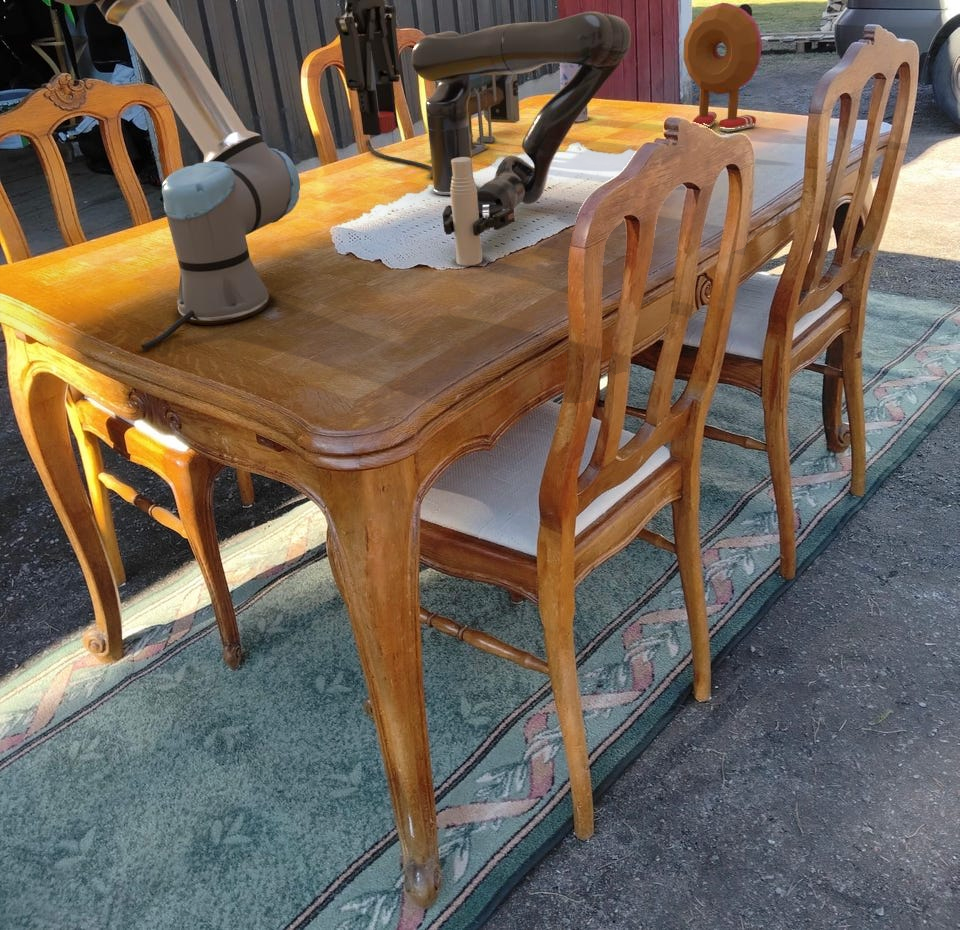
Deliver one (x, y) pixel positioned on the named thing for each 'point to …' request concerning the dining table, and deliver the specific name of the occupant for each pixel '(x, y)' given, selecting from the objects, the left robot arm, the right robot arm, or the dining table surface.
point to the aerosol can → (565, 75)
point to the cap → (386, 121)
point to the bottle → (465, 212)
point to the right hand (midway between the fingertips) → (461, 229)
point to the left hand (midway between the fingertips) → (380, 130)
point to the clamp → (492, 104)
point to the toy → (723, 59)
